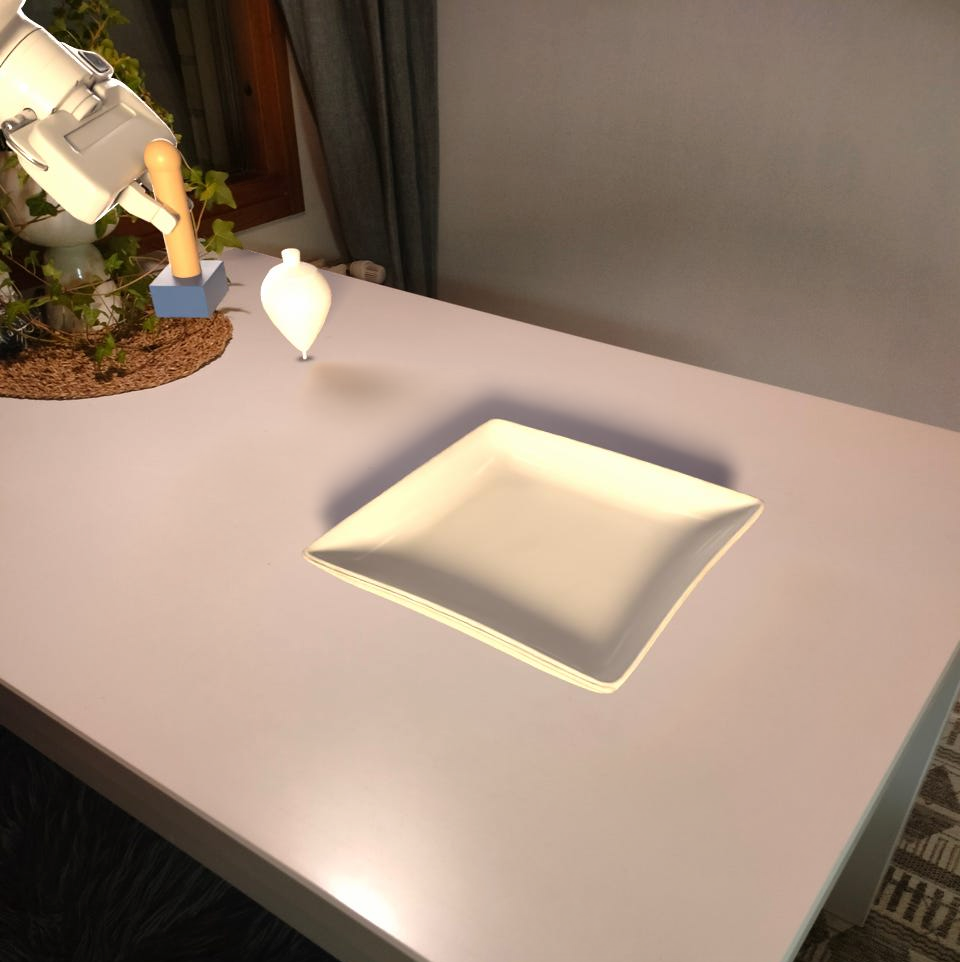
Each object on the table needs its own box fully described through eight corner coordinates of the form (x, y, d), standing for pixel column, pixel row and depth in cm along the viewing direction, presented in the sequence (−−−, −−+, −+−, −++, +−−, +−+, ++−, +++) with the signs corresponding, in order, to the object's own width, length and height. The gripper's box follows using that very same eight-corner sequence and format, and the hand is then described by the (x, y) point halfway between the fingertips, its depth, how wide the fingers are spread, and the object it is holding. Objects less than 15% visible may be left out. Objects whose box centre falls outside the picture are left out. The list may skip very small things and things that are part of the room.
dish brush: (156, 317, 88) (114, 148, 78) (179, 290, 93) (142, 129, 84) (209, 317, 88) (174, 148, 78) (229, 290, 93) (198, 129, 83)
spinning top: (342, 369, 103) (330, 258, 95) (273, 376, 102) (255, 265, 94) (334, 342, 109) (322, 236, 101) (269, 349, 107) (252, 242, 99)
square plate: (300, 590, 71) (293, 549, 69) (494, 448, 89) (494, 411, 86) (608, 729, 60) (613, 685, 57) (762, 534, 77) (772, 494, 74)
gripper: (9, 94, 70) (164, 229, 76) (106, 50, 85) (229, 165, 91) (-26, 158, 73) (126, 283, 79) (73, 105, 89) (194, 213, 94)
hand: (181, 220), depth 85 cm, fingers closed on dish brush, 3 cm apart
